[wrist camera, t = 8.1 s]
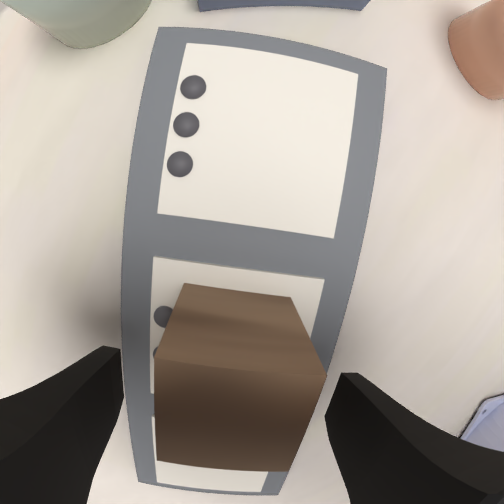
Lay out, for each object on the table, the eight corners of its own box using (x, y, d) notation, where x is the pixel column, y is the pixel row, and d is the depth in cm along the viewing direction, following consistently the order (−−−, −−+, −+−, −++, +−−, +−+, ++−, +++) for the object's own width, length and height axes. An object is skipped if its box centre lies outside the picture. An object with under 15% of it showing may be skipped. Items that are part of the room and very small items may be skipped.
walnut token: (270, 381, 13) (288, 471, 8) (177, 370, 12) (156, 460, 7) (290, 297, 12) (327, 375, 7) (183, 282, 11) (154, 357, 6)
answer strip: (276, 486, 16) (278, 498, 15) (140, 473, 15) (137, 485, 14) (378, 73, 11) (390, 66, 10) (163, 34, 10) (156, 23, 9)
